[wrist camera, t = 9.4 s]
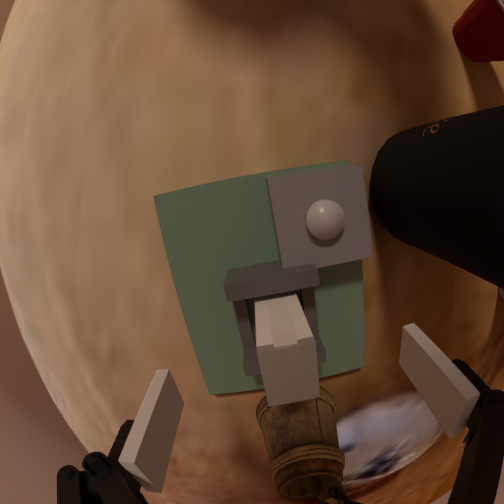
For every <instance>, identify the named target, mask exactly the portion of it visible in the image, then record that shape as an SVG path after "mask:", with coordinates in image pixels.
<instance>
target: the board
mask: <svg viewBox="0 0 504 504" xmlns="http://www.w3.org/2000/svg"><path fill="white" fill-rule="evenodd" d="M154 201H155V206H156V210H157V215H158V219H159V224H160V228H161V233H162V237H163V241H164V245H165V249H166V253H167V257H168V261H169V265H170V269H171V273H172V277H173V280H174V284H175V288H176V291H177V295H178V298H179V302H180V305H181V308H182V312H183V315H184V318H185V322H186V325H187V328H188V331H189V334H190V338H191V341H192V344H193V347H194V350H195V353H196V356H197V359H198V362H199V364H200V367H201V370H202V373H203V376H204V379H205V381H206V384H207V387H208V390H209V392H210V395H214V394H224V393H233V392H242V391H250V390H257V389H264V384H263V379H262V375H261V370H260V366H259V361H258V357H257V347H256V323H255V299H254V298H255V297H261V296H266V295H272V294H277V293H283V292H288V291H293V290H295V293H296V295H297V297H298V300H299V302H300V305H301V307H302V310H303V312H304V315H305V317H306V319H307V322H308V324H309V327H310V329H311V332H312V334H313V337H314V339H315V342H316V352H317V363H318V376H319V378H322V377H327V376H331V375H335V374H339V373H343V372H347V371H351V370H354V369H358V368H362V367H364V347H365V326H364V291H363V273H362V259H365V258H370V257H372V245H371V233H370V223H369V214H368V206H367V198H366V191H365V184H364V177H363V171H362V165H354V166H350V163H349V160H348V161H339V162H331V163H323V164H316V165H309V166H302V167H295V168H288V169H282V170H276V171H270V172H264V173H258V174H253V175H247V176H242V177H237V178H232V179H227V180H222V181H217V182H212V183H208V184H203V185H198V186H194V187H190V188H185V189H181V190H177V191H173V192H168V193H164V194H160V195H156V196H154Z"/></svg>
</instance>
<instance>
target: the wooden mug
mask: <svg viewBox="0 0 504 504" xmlns="http://www.w3.org/2000/svg"><path fill="white" fill-rule="evenodd" d="M319 390H320V397H318V398H314V399H309V400H304V401H299V402H294V403H288V404H282V405H276V406H268V401H267V397H266V396H265V397H264V398H263V399H261V401H260V403H259V404H258V406H257V410H256V416H257V420H258V423H259V426H260V429H261V430H262V432H263V436H264V440H265V443H266V447H267V451H268V455H269V459H270V463H271V465H270V473H271V477H272V480H273V482H274V484H275V485H276V486H277V489H278V492H279V494H280V495H282V496H284V497H287V498H302V497H309V496H314V495H317V494H319V495H317V496H318V499H319V501H320V503H321V504H362V503H358V502H352V501H350V500H349V498H348V497H347V495H346V493H345V491H344V489H343V487H342V483H341V482H342V481H343V470H344V465H345V456H344V452H343V451H342V450H340V449H339V443H338V436H337V428H336V421H335V420H336V418H337V412H336V406H335V402H334V398H333V397H332V396H331V395H330V394H329V393H328V392H327V391H326V390H325V389H323V388H321V387H319Z"/></svg>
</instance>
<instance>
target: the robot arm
mask: <svg viewBox="0 0 504 504" xmlns="http://www.w3.org/2000/svg"><path fill="white" fill-rule="evenodd" d="M399 365H400V366H401V368H402V369H403V370H404V372H405V373H406V375H407V376H408V378H409V379H410V380H411V382H412V383H413V385H414V386H415V388H416V389H417V390H418V392H419V393H420V395H421V396H422V398H423V399H424V401H425V402H426V404H427V405H428V407H429V408H430V410H431V411H432V413H433V414H434V416H435V417H436V419H437V420H438V422H439V423H440V425H441V426H442V428H443V430H444V431H445V433H446V434H447V436H448V437H449V439H452V438H454V437H455V436H457V435H459V434H461V433H462V432H463V430H464V428H465V426H466V425H467V427H468V428H469V431H468V433H467V435H466V437H465V438H464V441H463V443H465V441H466V443H465V447H464V451H463V455H462V459H461V463H460V467H459V470H458V474H457V477H456V480H455V483H454V486H453V489H452V492H451V495H450V498H449V500H448V504H494V501H495V497H496V493H497V488H498V484H499V479H500V474H501V469H502V463H503V457H504V392H503V391H501V390H497V389H496V390H491V389H490V388H489V387H488V386H487V385H486V384H485V383H484V382H483V380H482V379H481V378H480V377H479V376H478V375H477V374H475V372H474V371H473V370H472V369H471V368H470V367H469V366H468V365H467V364H466V363H465V362H464V361H461V360H459V359H455V360H453V361H451V360H450V359H449V358H448V357H447V356H446V355H445V354H444V353H443V352H442V351H441V350H440V349H439V348H438V347H437V346H436V345H435V344H434V343H433V342H432V341H431V340H430V339H429V338H428V337H427V336H426V335H425V333H424V332H423V331H422V330H421V329H420V328H419V327H418V326H417V325H416V324H415V323H411V324H408V325H405V326H403V327H402V339H401V350H400V358H399ZM183 406H184V402H183V400H182V397H181V395H180V393H179V391H178V389H177V386H176V384H175V382H174V380H173V377H172V375H171V373H170V370H169V369H161V370H156V373H155V375H154V377H153V379H152V381H151V384H150V386H149V388H148V391H147V393H146V395H145V397H144V400H143V402H142V404H141V407H140V409H139V411H138V414H137V416H136V418H135V420H127V421H126V422H125V423H124V424H123V425H122V426H121V428H120V430H119V432H118V435H117V437H116V439H115V441H114V443H113V446H112V448H111V450H110V452H109V455H108V457H106V455H105V454H103V453H101V452H92V453H90V454H88V455H86V457H85V458H84V459H83V462H82V467H83V468H84V469H85V470H86V471H79V470H78V469H76V467H74V466H72V465H67V466H64V467H62V468H61V469H60V470H59V471H58V474H57V504H148V502H147V501H146V499H145V498H144V496H143V494H142V493H141V492H140V489H141V486H142V487H143V488H144V489H145V490H146V491H150V492H158V493H162V489H163V484H164V480H165V476H166V472H167V468H168V464H169V460H170V456H171V452H172V448H173V444H174V440H175V436H176V432H177V428H178V425H179V421H180V417H181V413H182V409H183Z"/></svg>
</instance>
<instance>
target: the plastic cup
mask: <svg viewBox="0 0 504 504" xmlns="http://www.w3.org/2000/svg"><path fill="white" fill-rule="evenodd" d="M452 31H453V35H454V38H455V40H456V42H457V44H458V46H459V47H460V48H461V50H462V51H463V52H464V53H465V54H466V55H467V56H468V57H469V58H470V59H472V60H473V61H475V62H483V63H484V62H491V61H504V0H474V1H473V2H472V3H471V4H470V6H469V7H468V8H467V9H466V10H465V12H464V13H463V15H462V16H461V17H460V18H459V19H458V21H457V22H456V23H455V25H454V26H453V30H452Z"/></svg>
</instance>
